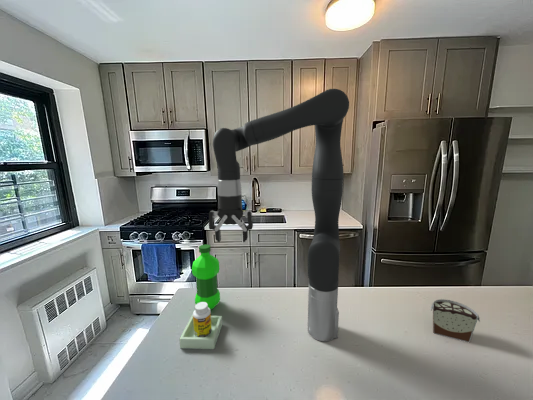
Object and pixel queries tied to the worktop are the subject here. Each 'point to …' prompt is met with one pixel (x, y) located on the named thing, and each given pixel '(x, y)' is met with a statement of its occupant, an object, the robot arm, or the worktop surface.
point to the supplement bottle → (202, 320)
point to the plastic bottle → (206, 277)
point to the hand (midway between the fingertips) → (231, 241)
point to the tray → (201, 342)
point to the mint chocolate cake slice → (453, 320)
